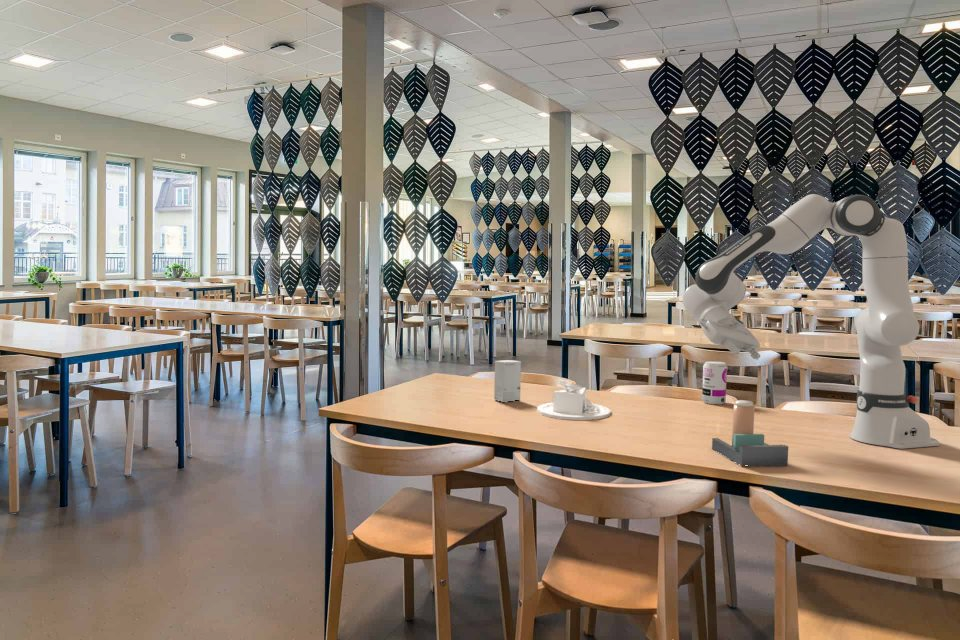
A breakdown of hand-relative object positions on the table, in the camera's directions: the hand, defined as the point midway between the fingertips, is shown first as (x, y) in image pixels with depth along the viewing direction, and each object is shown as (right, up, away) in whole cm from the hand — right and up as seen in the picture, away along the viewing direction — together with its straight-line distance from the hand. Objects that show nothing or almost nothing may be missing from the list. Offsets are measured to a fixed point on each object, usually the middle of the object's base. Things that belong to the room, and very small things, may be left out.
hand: (747, 355), depth 188 cm
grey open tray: (-6, -26, -15) cm, 31 cm away
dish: (-45, -22, +37) cm, 62 cm away
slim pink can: (-7, -26, -12) cm, 29 cm away
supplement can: (+10, -21, +55) cm, 60 cm away
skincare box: (-66, -20, +55) cm, 88 cm away
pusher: (-6, -26, -17) cm, 31 cm away
